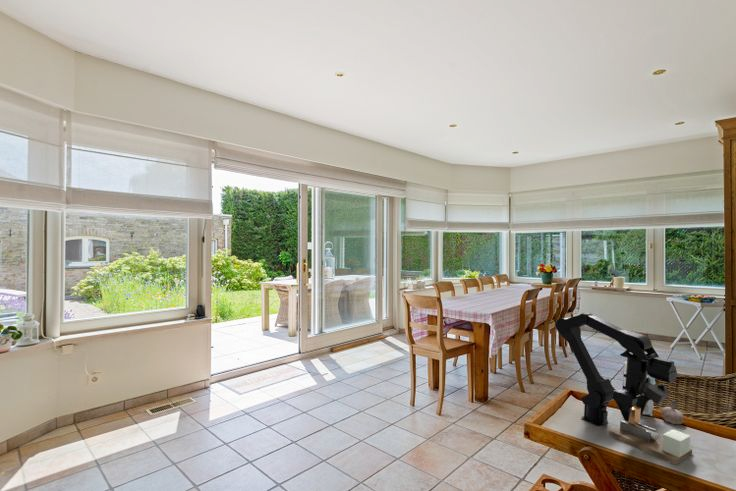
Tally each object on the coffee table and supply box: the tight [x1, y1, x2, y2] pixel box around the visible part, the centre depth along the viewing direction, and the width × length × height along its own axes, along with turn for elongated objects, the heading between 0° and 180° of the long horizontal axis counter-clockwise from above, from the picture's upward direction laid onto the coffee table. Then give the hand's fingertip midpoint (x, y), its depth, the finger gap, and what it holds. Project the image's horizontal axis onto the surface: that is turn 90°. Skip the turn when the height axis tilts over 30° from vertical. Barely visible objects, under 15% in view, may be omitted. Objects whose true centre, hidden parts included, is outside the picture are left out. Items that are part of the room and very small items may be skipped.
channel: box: [619, 420, 657, 442], centre depth 130 cm, size 9×4×3 cm, turn 31°
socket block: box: [662, 428, 691, 457], centre depth 121 cm, size 4×7×5 cm, turn 121°
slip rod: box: [621, 406, 659, 440], centre depth 130 cm, size 10×4×8 cm, turn 31°
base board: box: [608, 425, 693, 465], centre depth 127 cm, size 19×12×2 cm, turn 31°
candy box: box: [622, 361, 657, 417], centre depth 154 cm, size 14×6×16 cm, turn 168°
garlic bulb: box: [661, 399, 685, 425], centre depth 144 cm, size 8×7×8 cm
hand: (633, 417), depth 131 cm, fingers open, 9 cm apart
